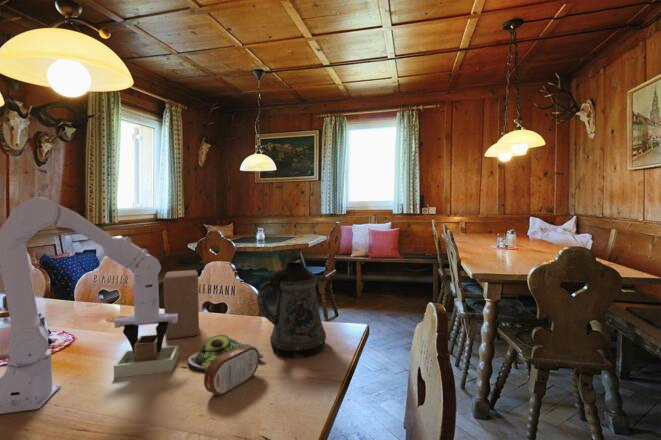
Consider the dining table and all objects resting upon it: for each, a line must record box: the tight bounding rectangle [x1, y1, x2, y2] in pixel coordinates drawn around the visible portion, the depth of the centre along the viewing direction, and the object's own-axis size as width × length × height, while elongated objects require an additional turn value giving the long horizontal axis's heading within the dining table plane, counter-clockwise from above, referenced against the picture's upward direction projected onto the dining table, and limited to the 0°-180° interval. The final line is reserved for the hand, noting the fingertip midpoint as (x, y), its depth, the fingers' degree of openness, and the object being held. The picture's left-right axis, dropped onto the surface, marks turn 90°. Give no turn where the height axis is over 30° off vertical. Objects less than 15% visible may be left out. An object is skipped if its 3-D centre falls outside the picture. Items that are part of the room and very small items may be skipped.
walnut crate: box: [134, 334, 161, 363], centre depth 91 cm, size 6×5×5 cm
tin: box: [203, 343, 260, 396], centre depth 81 cm, size 15×3×8 cm, turn 149°
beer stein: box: [256, 262, 327, 360], centre depth 101 cm, size 16×19×25 cm
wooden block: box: [163, 269, 200, 340], centre depth 114 cm, size 10×10×20 cm
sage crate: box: [113, 345, 179, 379], centre depth 91 cm, size 9×13×3 cm
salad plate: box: [187, 334, 264, 372], centre depth 95 cm, size 19×18×5 cm
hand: (147, 351), depth 91 cm, fingers closed on walnut crate, 5 cm apart
